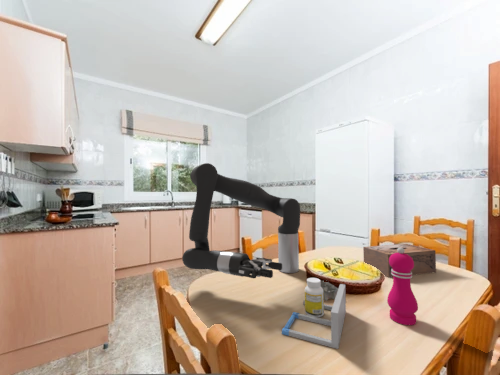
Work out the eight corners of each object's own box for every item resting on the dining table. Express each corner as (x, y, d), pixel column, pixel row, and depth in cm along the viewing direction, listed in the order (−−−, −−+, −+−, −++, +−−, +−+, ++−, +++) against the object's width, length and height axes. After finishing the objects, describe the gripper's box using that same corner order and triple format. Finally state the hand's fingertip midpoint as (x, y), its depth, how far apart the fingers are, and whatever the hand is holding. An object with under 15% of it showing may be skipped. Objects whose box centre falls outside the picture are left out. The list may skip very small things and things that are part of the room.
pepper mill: (423, 328, 62) (421, 251, 62) (393, 325, 63) (391, 249, 64) (411, 314, 69) (409, 245, 70) (383, 311, 70) (382, 244, 71)
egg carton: (306, 289, 88) (305, 278, 88) (324, 287, 90) (324, 276, 90) (320, 302, 78) (320, 289, 78) (341, 299, 79) (340, 287, 79)
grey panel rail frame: (301, 302, 77) (300, 277, 77) (345, 311, 71) (345, 284, 71) (281, 333, 60) (281, 301, 60) (338, 349, 54) (337, 313, 54)
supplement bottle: (311, 307, 74) (310, 275, 74) (327, 313, 70) (326, 279, 70) (301, 313, 70) (300, 279, 70) (318, 320, 66) (317, 284, 66)
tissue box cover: (407, 263, 119) (406, 243, 120) (436, 272, 105) (435, 250, 106) (363, 268, 113) (363, 246, 113) (388, 278, 99) (387, 254, 99)
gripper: (222, 256, 76) (269, 264, 69) (243, 248, 89) (284, 253, 82) (221, 280, 76) (268, 290, 69) (243, 268, 89) (284, 275, 81)
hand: (277, 270), depth 75 cm, fingers open, 8 cm apart
